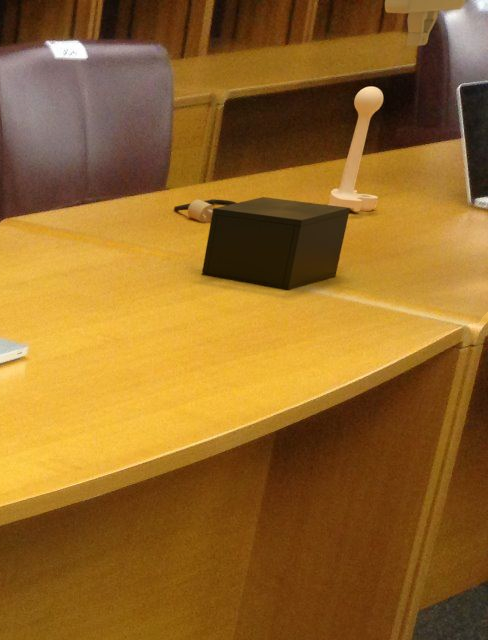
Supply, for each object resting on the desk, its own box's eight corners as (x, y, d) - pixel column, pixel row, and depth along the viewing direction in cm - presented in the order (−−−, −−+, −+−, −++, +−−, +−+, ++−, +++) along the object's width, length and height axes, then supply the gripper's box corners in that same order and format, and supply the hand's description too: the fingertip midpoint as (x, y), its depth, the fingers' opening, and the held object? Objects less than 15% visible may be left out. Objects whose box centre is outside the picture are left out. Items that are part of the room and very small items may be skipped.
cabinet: (250, 264, 225) (263, 196, 221) (335, 277, 217) (350, 207, 212) (200, 278, 216) (213, 208, 212) (287, 292, 208) (301, 220, 204)
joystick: (326, 200, 274) (355, 82, 265) (371, 204, 272) (402, 85, 262) (330, 211, 265) (360, 89, 255) (377, 215, 262) (410, 92, 253)
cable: (147, 206, 265) (151, 186, 264) (229, 205, 269) (233, 185, 267) (200, 225, 252) (204, 204, 250) (285, 223, 256) (290, 202, 254)
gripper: (432, -59, 208) (408, 50, 215) (490, -60, 221) (466, 43, 227) (385, -60, 213) (363, 47, 219) (445, -61, 225) (422, 41, 231)
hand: (416, 45), depth 223 cm, fingers closed
